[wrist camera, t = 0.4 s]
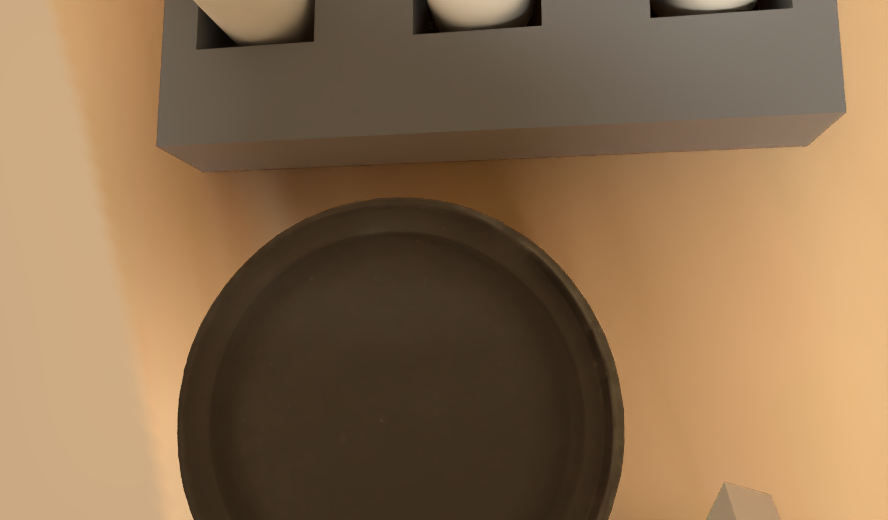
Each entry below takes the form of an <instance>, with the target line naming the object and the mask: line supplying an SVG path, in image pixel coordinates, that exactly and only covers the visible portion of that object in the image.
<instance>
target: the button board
mask: <svg viewBox="0 0 888 520" xmlns="http://www.w3.org/2000/svg"><path fill="white" fill-rule="evenodd" d="M758 4H759V11H745V12H731V13H717V14H702V15H688V16H674V17H659V18H650V0H541V8H542V26H530V27H516V28H502V29H487V30H473V31H459V32H444V33H430V9H429V6H428V3H427V0H315V19H314V42H301V43H287V44H272V45H258V46H244V47H239V46H238V45H237V44H236V43H235V42H234V41H233V40H232V39H231V38H230V37H229V36H228V35H227V34H226V33H225V32H224V31H223V30H222V29H221V28H220V27H219V26H218V25H217V24H216V23H215V22H214V21H213V20H212V19H211V18H210V17H209V16H208V15H207V14H206V13H205V12H204V11H203V10H202V9H201V8H200V7H199V6H198V5H197V4H196V3H195V2H194V1H193V0H165V6H164V23H163V41H162V58H161V75H160V92H159V109H158V127H157V144H156V146H157V147H159V148H161V149H162V150H164V151H166V152H168V153H170V154H171V155H173V156H175V157H177V158H179V159H180V160H182V161H184V162H186V163H188V164H189V165H191V166H193V167H195V168H197V169H198V170H200V171H202V172H219V171H242V170H265V169H288V168H311V167H334V166H357V165H380V164H403V163H426V162H450V161H473V160H496V159H519V158H542V157H565V156H588V155H611V154H634V153H657V152H681V151H704V150H727V149H750V148H773V147H796V146H808V145H809V144H810V143H811V142H813V141H814V140H815V139H816V138H817V137H818V136H819V135H821V134H822V133H823V132H824V131H825V130H826V129H828V128H829V127H830V126H831V125H832V124H833V123H834V122H836V121H837V120H838V119H839V118H840V117H841V116H842V115H844V114H845V113H846V103H845V91H844V79H843V68H842V56H841V44H840V32H839V21H838V9H837V0H758Z"/></svg>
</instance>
